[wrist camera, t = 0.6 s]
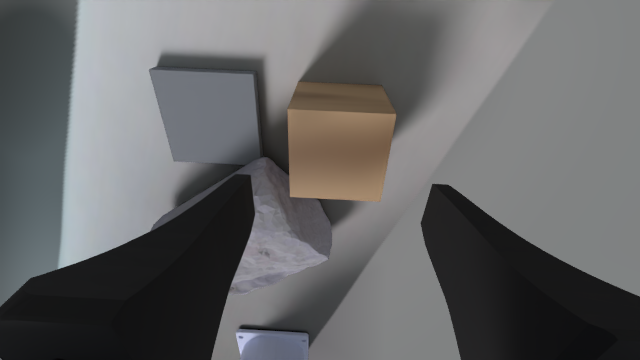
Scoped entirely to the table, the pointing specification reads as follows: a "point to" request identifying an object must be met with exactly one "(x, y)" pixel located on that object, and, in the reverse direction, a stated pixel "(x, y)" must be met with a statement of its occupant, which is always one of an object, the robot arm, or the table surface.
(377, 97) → the tan cube
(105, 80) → the table surface
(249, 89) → the charcoal pad
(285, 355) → the robot arm
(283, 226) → the stone block
